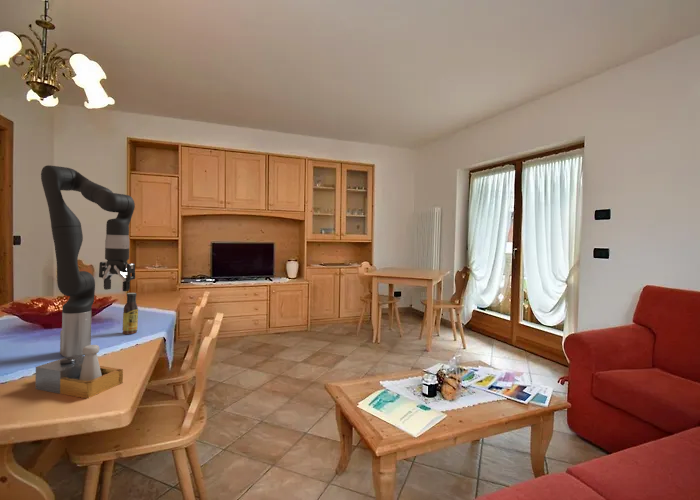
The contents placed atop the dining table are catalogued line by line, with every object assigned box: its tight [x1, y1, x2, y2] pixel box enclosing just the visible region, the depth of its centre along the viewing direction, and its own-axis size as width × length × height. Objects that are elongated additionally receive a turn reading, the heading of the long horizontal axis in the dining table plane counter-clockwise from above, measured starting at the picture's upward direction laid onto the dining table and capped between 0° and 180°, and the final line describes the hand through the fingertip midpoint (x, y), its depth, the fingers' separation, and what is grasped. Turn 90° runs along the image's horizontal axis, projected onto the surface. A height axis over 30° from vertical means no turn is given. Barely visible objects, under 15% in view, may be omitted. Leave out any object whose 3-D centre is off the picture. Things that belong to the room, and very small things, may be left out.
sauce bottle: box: [122, 292, 139, 335], centre depth 169 cm, size 6×6×20 cm
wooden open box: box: [34, 355, 124, 399], centre depth 111 cm, size 24×12×8 cm, turn 76°
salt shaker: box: [79, 344, 102, 381], centre depth 109 cm, size 6×6×13 cm
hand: (116, 290), depth 128 cm, fingers open, 8 cm apart
